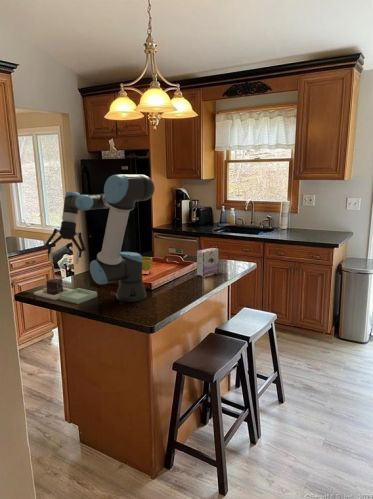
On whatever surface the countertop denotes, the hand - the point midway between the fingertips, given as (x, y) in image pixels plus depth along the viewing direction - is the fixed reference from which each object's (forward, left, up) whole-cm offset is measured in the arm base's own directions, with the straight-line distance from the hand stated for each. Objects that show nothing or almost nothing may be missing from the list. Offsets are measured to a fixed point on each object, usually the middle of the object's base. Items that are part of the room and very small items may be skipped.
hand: (63, 262), depth 195 cm
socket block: (+4, +3, -17) cm, 18 cm away
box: (+4, +3, -17) cm, 18 cm away
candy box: (-48, -70, -17) cm, 86 cm away
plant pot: (-12, -53, -17) cm, 57 cm away
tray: (-12, +2, -17) cm, 21 cm away
